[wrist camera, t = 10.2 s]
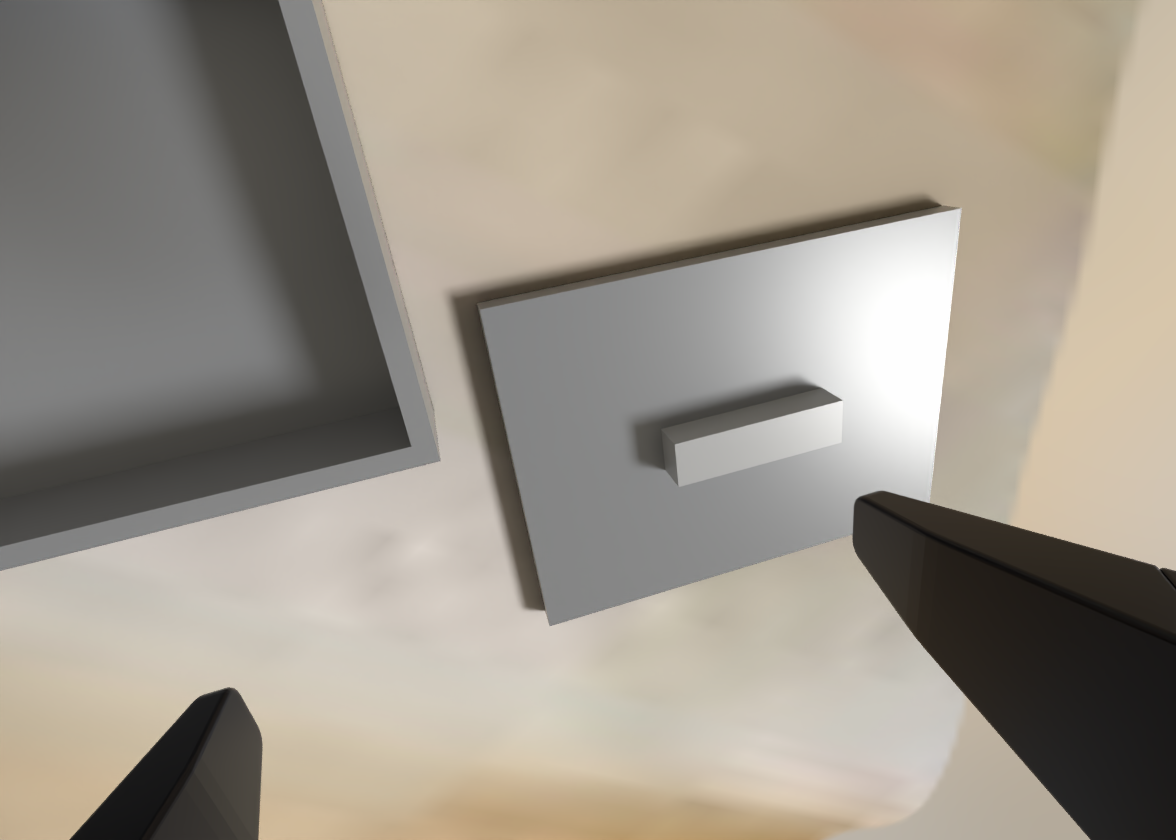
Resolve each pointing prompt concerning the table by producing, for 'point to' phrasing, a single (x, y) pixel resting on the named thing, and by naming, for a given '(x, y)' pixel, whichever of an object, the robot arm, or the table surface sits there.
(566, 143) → the table surface
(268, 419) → the bin
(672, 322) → the bin lid
